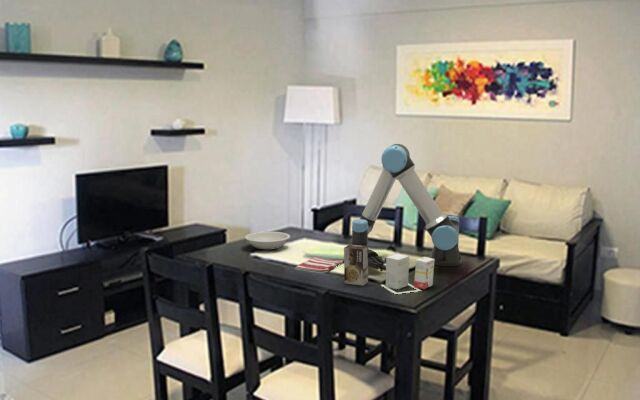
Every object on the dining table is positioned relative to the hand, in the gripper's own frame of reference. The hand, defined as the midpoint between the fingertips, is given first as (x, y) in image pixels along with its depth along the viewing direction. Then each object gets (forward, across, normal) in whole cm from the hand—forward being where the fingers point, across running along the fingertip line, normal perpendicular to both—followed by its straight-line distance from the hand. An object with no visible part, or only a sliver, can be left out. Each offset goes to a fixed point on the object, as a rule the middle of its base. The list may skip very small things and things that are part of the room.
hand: (391, 270), depth 264 cm
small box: (+4, -1, -6) cm, 7 cm away
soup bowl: (-81, +32, -6) cm, 87 cm away
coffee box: (-7, +13, -6) cm, 16 cm away
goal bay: (+7, -1, -6) cm, 9 cm away
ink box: (+9, -11, -6) cm, 15 cm away
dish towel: (-39, +18, -7) cm, 44 cm away
